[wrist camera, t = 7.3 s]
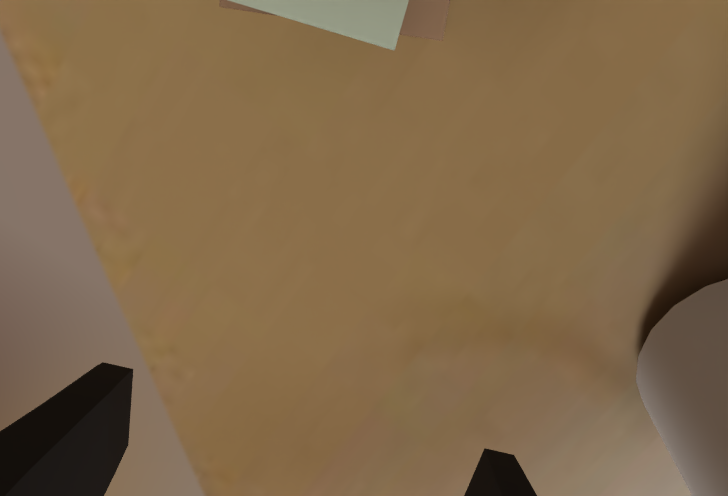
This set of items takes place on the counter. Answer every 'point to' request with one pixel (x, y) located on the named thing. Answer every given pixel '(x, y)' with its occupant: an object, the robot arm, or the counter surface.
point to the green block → (343, 16)
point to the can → (691, 387)
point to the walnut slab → (419, 19)
